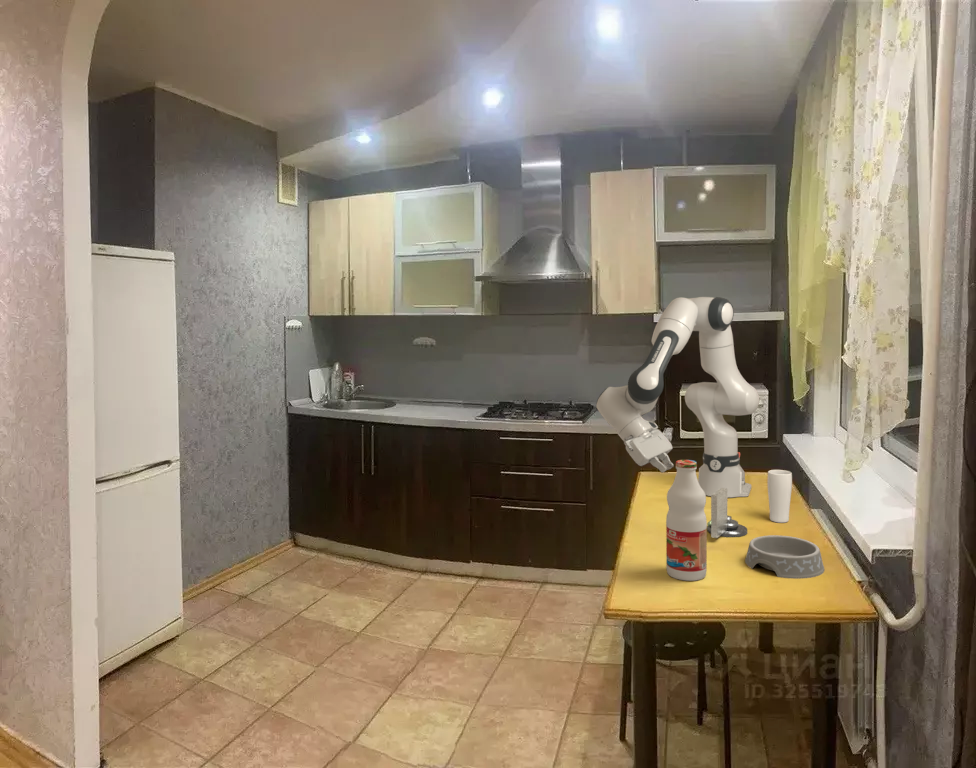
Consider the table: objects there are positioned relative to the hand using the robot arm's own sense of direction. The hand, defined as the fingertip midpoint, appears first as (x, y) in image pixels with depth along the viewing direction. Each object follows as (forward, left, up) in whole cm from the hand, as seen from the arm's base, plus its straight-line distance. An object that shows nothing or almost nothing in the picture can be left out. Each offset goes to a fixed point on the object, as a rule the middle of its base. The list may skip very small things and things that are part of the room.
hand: (668, 469), depth 196 cm
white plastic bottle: (+30, +16, -19) cm, 39 cm away
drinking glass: (-26, +24, -19) cm, 40 cm away
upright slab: (-4, +14, -17) cm, 23 cm away
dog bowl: (+11, +34, -19) cm, 41 cm away
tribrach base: (-8, +14, -18) cm, 25 cm away
